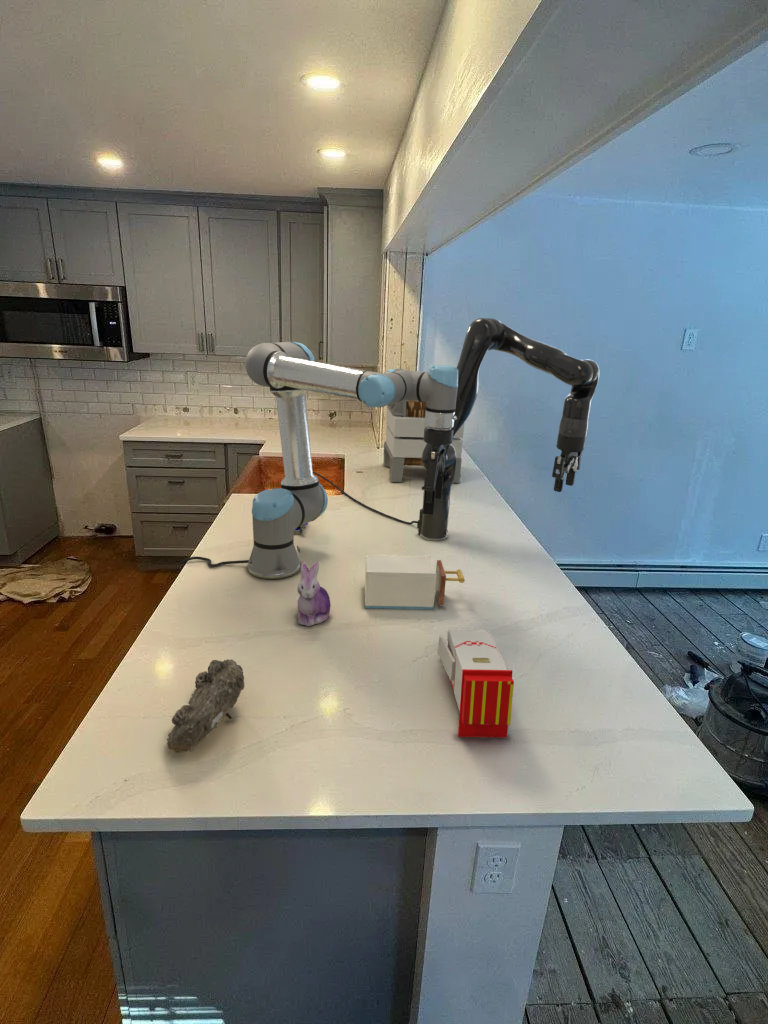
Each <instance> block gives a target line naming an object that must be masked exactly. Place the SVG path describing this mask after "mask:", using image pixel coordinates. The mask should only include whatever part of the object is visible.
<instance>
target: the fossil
mask: <svg viewBox="0 0 768 1024" xmlns="http://www.w3.org/2000/svg"><path fill="white" fill-rule="evenodd" d="M243 670H244V669H243V667H242V665H240V664H237V662H236V661H235V660H234V659H232V658H231V659H227V658H226V659H224V660H223V661H222V660H217V659H212V660H211V661H210V663H209V665H208V666H207V671H201V672H199V673H198V674H197V675H196V676H195V680H194V684H195V685H194V687H195V689H194V690H193V693H192V694H191V697H190V698H189V700H188V704H184V705H182V706H181V707H180V709H177V710H176V711H175V713H174V715H173V716H172V718H171V723H172V724H173V727H172V730H171V731H170V732H168V734H167V738H166V741H167V742H166V745H167V749H168V750H169V751H173V752H174V753H176V754H178V753H182V752H188V751H189V752H192V751H193V750H195V748H196V747H197V746H199V744H200V743H201V742H203V741H204V740H205V739H206V738H207V737H208V736H209V735H210V734H211V733H212V732H214V730H215V729H217V727H218V726H219V724H220V722H221V721H222V720H223V719H224V718H225V716H226V717H227V719H229V720H233V717H232V715H230V714H229V710H230V709H231V708H234V706H235V704H236V703H237V702H238V699H239V697H240V695H241V693H242V691H243V690H245V689H244V688H245V675H244V671H243Z"/></svg>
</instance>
